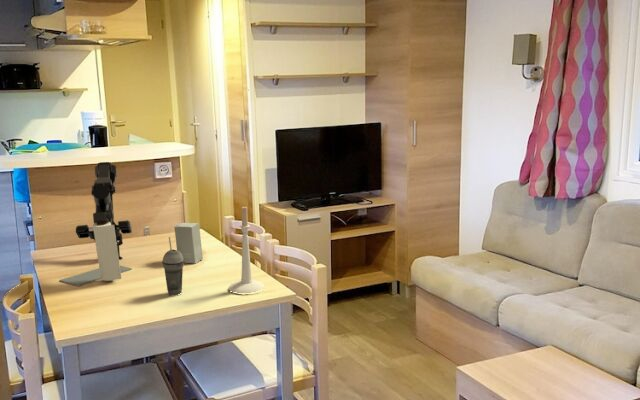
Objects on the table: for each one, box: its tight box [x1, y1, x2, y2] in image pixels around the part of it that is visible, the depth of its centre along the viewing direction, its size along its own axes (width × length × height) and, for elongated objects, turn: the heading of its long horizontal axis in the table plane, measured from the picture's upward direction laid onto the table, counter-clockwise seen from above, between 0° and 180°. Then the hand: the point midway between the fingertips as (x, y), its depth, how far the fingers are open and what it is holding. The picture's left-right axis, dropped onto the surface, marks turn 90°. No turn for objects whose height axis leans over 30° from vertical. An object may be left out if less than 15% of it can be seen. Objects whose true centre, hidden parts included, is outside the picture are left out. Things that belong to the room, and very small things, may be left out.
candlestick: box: [228, 205, 265, 293], centre depth 207 cm, size 13×13×30 cm
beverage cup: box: [162, 236, 185, 296], centre depth 204 cm, size 7×7×20 cm
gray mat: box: [59, 265, 133, 287], centre depth 227 cm, size 24×11×1 cm, turn 147°
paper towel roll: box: [92, 221, 122, 282], centre depth 216 cm, size 7×6×21 cm
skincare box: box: [173, 222, 204, 264], centre depth 243 cm, size 8×7×16 cm
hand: (104, 250), depth 214 cm, fingers closed on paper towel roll, 3 cm apart
